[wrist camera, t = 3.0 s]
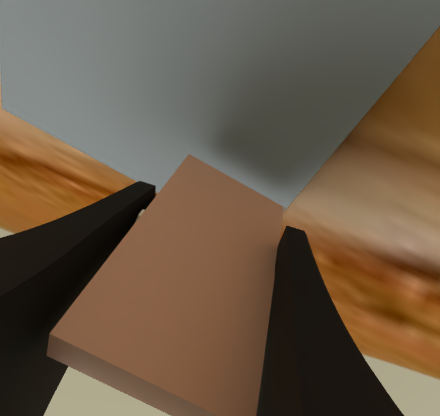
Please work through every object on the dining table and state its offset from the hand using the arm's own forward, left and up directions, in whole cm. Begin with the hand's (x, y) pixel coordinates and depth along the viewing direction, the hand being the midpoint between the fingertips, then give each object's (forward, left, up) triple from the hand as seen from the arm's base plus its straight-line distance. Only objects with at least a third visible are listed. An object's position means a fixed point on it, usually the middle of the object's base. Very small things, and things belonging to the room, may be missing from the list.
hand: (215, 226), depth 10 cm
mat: (+5, -13, -5) cm, 15 cm away
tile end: (0, 0, -2) cm, 2 cm away
